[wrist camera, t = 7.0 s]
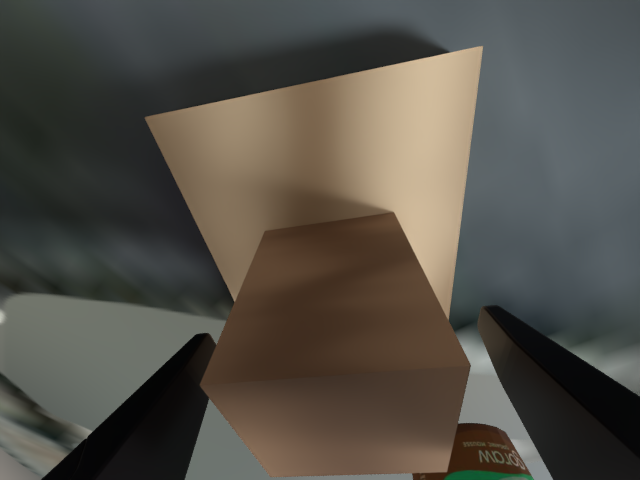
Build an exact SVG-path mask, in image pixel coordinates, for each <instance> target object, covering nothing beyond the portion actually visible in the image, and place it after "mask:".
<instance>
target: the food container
mask: <svg viewBox="0 0 640 480" xmlns="http://www.w3.org/2000/svg"><path fill="white" fill-rule="evenodd" d="M412 475H413V480H534V479H533V477H532V476H531V474H530V472H529V471H528V469H527V467H526V465H525V464H524V462H523V460H522V459H521V457H520V455H519V454H518V452H517V450H516V449H515V447H514V445H513V444H512V442H511V440H510V439H509V437H508V436H507V434H506V433H505V432H504V431H502V430H501V429H499V428H497V427H493V426H490V425H486V424H478V423H461V424H458V425H457V429H456V434H455V438H454V443H453V447H452V452H451V456H450V461H449V465H448V470H447V472H435V473H412Z"/></svg>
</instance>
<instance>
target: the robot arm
mask: <svg viewBox="0 0 640 480" xmlns="http://www.w3.org/2000/svg"><path fill="white" fill-rule="evenodd" d="M478 330H479V333H480V335H481V337H482V340H483V342H484V345H485V347H486V349H487V352H488V354H489V357H490V359H491V361H492V364H493V366H494V369H495V371H496V373H497V376H498V378H499V380H500V382H501V384H502V386H503V388H504V390H505V391H506V394H507V395H508V397H509V399H510V401H511V403H512V404H513V406H514V408H515V410H516V412H517V413H518V415H519V417H520V419H521V421H522V423H523V425H524V427H525V428H526V430H527V432H528V434H529V436H530V438H531V440H532V441H533V443H534V445H535V447H536V449H537V451H538V452H539V454H540V456H541V458H542V460H543V462H544V463H545V465H546V467H547V469H548V471H549V472H550V474H551V476H552V478H553V480H640V396H638V395H637V394H635V393H634V392H632V391H630V390H629V389H627V388H626V387H624V386H623V385H621V384H620V383H618V382H616V381H615V380H613V379H612V378H610V377H609V376H607V375H606V374H604V373H602V372H601V371H599V370H598V369H596V368H595V367H593V366H592V365H590V364H588V363H587V362H585V361H584V360H582V359H581V358H579V357H578V356H576V355H574V354H573V353H571V352H570V351H568V350H567V349H565V348H564V347H562V346H560V345H559V344H557V343H556V342H554V341H553V340H551V339H549V338H548V337H546V336H545V335H543V334H542V333H540V332H539V331H537V330H535V329H534V328H532V327H531V326H529V325H528V324H526V323H525V322H523V321H521V320H520V319H518V318H517V317H515V316H514V315H512V314H511V313H509V312H507V311H506V310H504V309H503V308H501V307H500V306H497V305H489V306H483V307H482V308H481V310H480V315H479V320H478ZM215 348H216V343H215V342H214V340H213V338H212V337H211V335H210V334H208V333H202V334H196V335H195V336H194V337H193V338H192V339H190V340H189V341H188V342H187V343H186V344H185V345H184V346H183V347H182V348H181V349H180V350H179V351H178V352H177V353H176V354H175V355H174V356H172V358H170V360H168V361H167V362H166V363H165V364H164V365H163V366H162V367H161V368H160V369H159V370H158V371H157V372H156V373H154V374H153V376H151V377H150V378H149V379H148V380H147V381H146V382H145V383H144V384H143V385H142V386H141V387H140V388H139V389H138V390H136V392H134V393H133V394H132V395H131V396H130V397H129V398H128V399H127V400H126V401H125V402H124V403H123V404H122V405H121V406H119V407H118V408H117V409H116V410H115V411H114V412H113V413H112V414H111V415H110V416H109V417H108V418H107V419H106V420H105V421H104V422H103V423H102V424H100V425H99V426H98V427H97V428H96V429H95V430H94V431H93V432H92V433H91V434H90V435H89V436H88V437H87V439H84V440H83V441H82V442H81V443H80V444H79V445H78V446H77V447H76V448H75V449H74V450H73V451H72V452H71V453H70V454H68V455H67V456H66V457H65V458H64V459H63V460H62V461H61V462H60V463H59V464H58V465H57V466H55V467H54V468H53V469H52V470H51V471H50V472H49V473H48V474H47V475H46V476H45V477H43V478H42V479H41V480H185V477H186V473H187V470H188V467H189V463H190V460H191V457H192V453H193V450H194V447H195V444H196V441H197V437H198V434H199V431H200V427H201V424H202V421H203V417H204V414H205V411H206V408H207V404H208V400H209V397H208V396H207V394H206V393H205V392H204V390H203V389H202V388H201V387H200V383H201V381H202V378H203V376H204V374H205V371H206V369H207V366H208V364H209V362H210V359H211V357H212V355H213V352H214V350H215Z"/></svg>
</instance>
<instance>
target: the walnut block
mask: <svg viewBox="0 0 640 480" xmlns="http://www.w3.org/2000/svg"><path fill="white" fill-rule="evenodd" d="M470 367H471V365H470V363H469V361H468V359H467V357H466V355H465V353H464V351H463V349H462V347H461V345H460V343H459V341H458V339H457V337H456V335H455V333H454V331H453V329H452V327H451V325H450V323H449V321H448V319H447V317H446V315H445V313H444V311H443V309H442V307H441V305H440V303H439V301H438V299H437V297H436V295H435V293H434V291H433V289H432V287H431V285H430V283H429V281H428V279H427V277H426V275H425V273H424V271H423V269H422V267H421V265H420V263H419V261H418V259H417V257H416V255H415V253H414V251H413V249H412V247H411V245H410V243H409V241H408V239H407V237H406V235H405V233H404V231H403V229H402V227H401V225H400V223H399V221H398V219H397V217H396V215H395V213H394V212H392V213H385V214H378V215H371V216H364V217H357V218H350V219H343V220H337V221H330V222H323V223H316V224H309V225H302V226H295V227H288V228H281V229H275V230H268V231H265V232H264V234H263V236H262V239H261V241H260V243H259V246H258V248H257V251H256V253H255V255H254V258H253V260H252V262H251V265H250V267H249V269H248V272H247V274H246V277H245V279H244V281H243V284H242V286H241V288H240V291H239V293H238V296H237V298H236V300H235V303H234V305H233V307H232V310H231V312H230V314H229V317H228V319H227V322H226V324H225V326H224V329H223V331H222V333H221V336H220V338H219V341H218V343H217V345H216V348H215V350H214V352H213V355H212V357H211V359H210V362H209V364H208V366H207V369H206V371H205V374H204V376H203V378H202V381H201V383H200V387H201V388H202V389H203V390H204V392H205V393H206V394H207V396H208V397H209V398H210V400H211V401H212V402H213V403H214V405H215V406H216V407H217V409H218V410H219V411H220V412H221V414H222V415H223V416H224V418H225V419H226V420H227V421H228V422H229V424H230V425H231V426H232V428H233V429H234V430H235V432H236V433H237V434H238V436H239V437H240V438H241V439H242V440H243V442H244V443H245V445H246V446H247V447H248V448H249V450H250V451H251V452H252V454H253V455H254V456H255V457H256V459H257V460H258V461H259V462H260V464H261V465H262V467H263V468H264V469H265V470H266V472H267V473H268V474H269V476H270V477H291V476H327V475H361V474H362V475H363V474H399V473H435V472H447V470H448V465H449V461H450V456H451V452H452V447H453V443H454V438H455V434H456V429H457V425H458V420H459V416H460V412H461V407H462V403H463V398H464V393H465V389H466V384H467V380H468V376H469V371H470Z"/></svg>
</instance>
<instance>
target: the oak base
mask: <svg viewBox="0 0 640 480" xmlns="http://www.w3.org/2000/svg"><path fill="white" fill-rule="evenodd" d="M482 50H483V46H480V47H475V48H470V49H465V50H461V51H456V52H451V53H446V54H442V55H437V56H432V57H427V58H423V59H418V60H413V61H408V62H404V63H399V64H394V65H389V66H385V67H380V68H375V69H371V70H366V71H361V72H356V73H352V74H347V75H342V76H337V77H333V78H328V79H323V80H318V81H314V82H309V83H304V84H299V85H295V86H290V87H285V88H280V89H276V90H271V91H266V92H261V93H257V94H252V95H247V96H242V97H238V98H233V99H228V100H223V101H219V102H214V103H209V104H205V105H200V106H195V107H190V108H186V109H181V110H176V111H171V112H167V113H162V114H157V115H152V116H148V117H144V118H145V120H146V122H147V124H148V126H149V128H150V130H151V132H152V134H153V136H154V138H155V140H156V142H157V144H158V146H159V148H160V150H161V152H162V154H163V156H164V158H165V160H166V162H167V164H168V167H169V169H170V171H171V173H172V175H173V177H174V179H175V181H176V183H177V185H178V187H179V189H180V191H181V193H182V195H183V197H184V199H185V201H186V203H187V205H188V207H189V209H190V211H191V213H192V216H193V218H194V220H195V222H196V224H197V226H198V228H199V230H200V232H201V234H202V236H203V238H204V240H205V242H206V244H207V246H208V248H209V250H210V252H211V254H212V256H213V258H214V260H215V262H216V265H217V267H218V269H219V271H220V273H221V275H222V277H223V279H224V281H225V283H226V285H227V287H228V289H229V291H230V293H231V295H232V297H233V299H234V301H235V300H236V298H237V296H238V293H239V291H240V288H241V286H242V284H243V281H244V279H245V277H246V274H247V272H248V269H249V267H250V265H251V262H252V260H253V258H254V255H255V253H256V251H257V248H258V246H259V243H260V241H261V239H262V236H263V234H264V232H265V231H268V230H275V229H281V228H288V227H295V226H302V225H309V224H316V223H323V222H330V221H337V220H343V219H350V218H357V217H364V216H371V215H378V214H385V213H392V212H394V213H395V215H396V217H397V219H398V221H399V223H400V225H401V227H402V229H403V231H404V233H405V235H406V237H407V239H408V241H409V243H410V245H411V247H412V249H413V251H414V253H415V255H416V257H417V259H418V261H419V263H420V265H421V267H422V269H423V271H424V273H425V275H426V277H427V279H428V281H429V283H430V285H431V287H432V289H433V291H434V293H435V295H436V297H437V299H438V301H439V303H440V305H441V307H442V309H443V311H444V313H445V315H446V317H447V319H449V311H450V303H451V295H452V288H453V280H454V272H455V264H456V256H457V248H458V240H459V232H460V224H461V216H462V208H463V200H464V192H465V184H466V177H467V169H468V161H469V153H470V145H471V137H472V129H473V121H474V113H475V105H476V97H477V89H478V81H479V73H480V66H481V58H482Z"/></svg>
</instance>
